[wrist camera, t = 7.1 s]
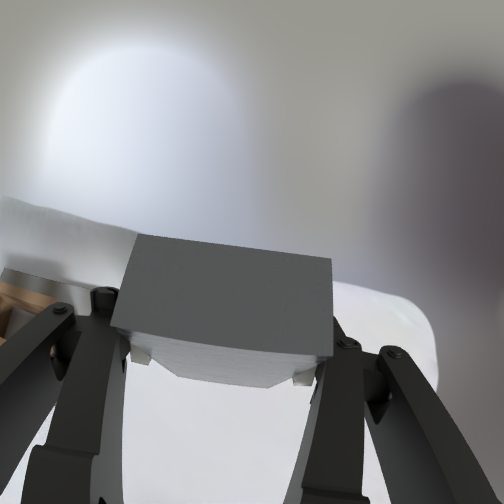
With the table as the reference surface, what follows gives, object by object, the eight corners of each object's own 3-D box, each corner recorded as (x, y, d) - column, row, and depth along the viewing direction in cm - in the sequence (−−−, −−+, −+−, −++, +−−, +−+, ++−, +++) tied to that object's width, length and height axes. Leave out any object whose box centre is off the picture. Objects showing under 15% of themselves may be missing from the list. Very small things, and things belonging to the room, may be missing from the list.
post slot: (-20, 362, 21) (-51, 347, 15) (8, 271, 28) (-17, 246, 23) (94, 421, 21) (62, 419, 16) (120, 298, 29) (98, 270, 23)
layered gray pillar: (177, 376, 17) (109, 325, 7) (184, 334, 19) (138, 233, 8) (268, 388, 17) (333, 356, 7) (271, 345, 19) (331, 258, 8)
